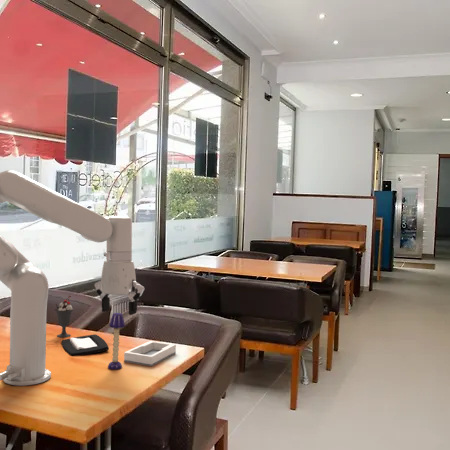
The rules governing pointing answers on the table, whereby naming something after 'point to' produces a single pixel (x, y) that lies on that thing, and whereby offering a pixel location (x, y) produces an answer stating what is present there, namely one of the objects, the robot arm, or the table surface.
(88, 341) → the light switch
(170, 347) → the white rimmed dish
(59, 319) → the sundae
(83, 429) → the table surface
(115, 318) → the toy lamp
